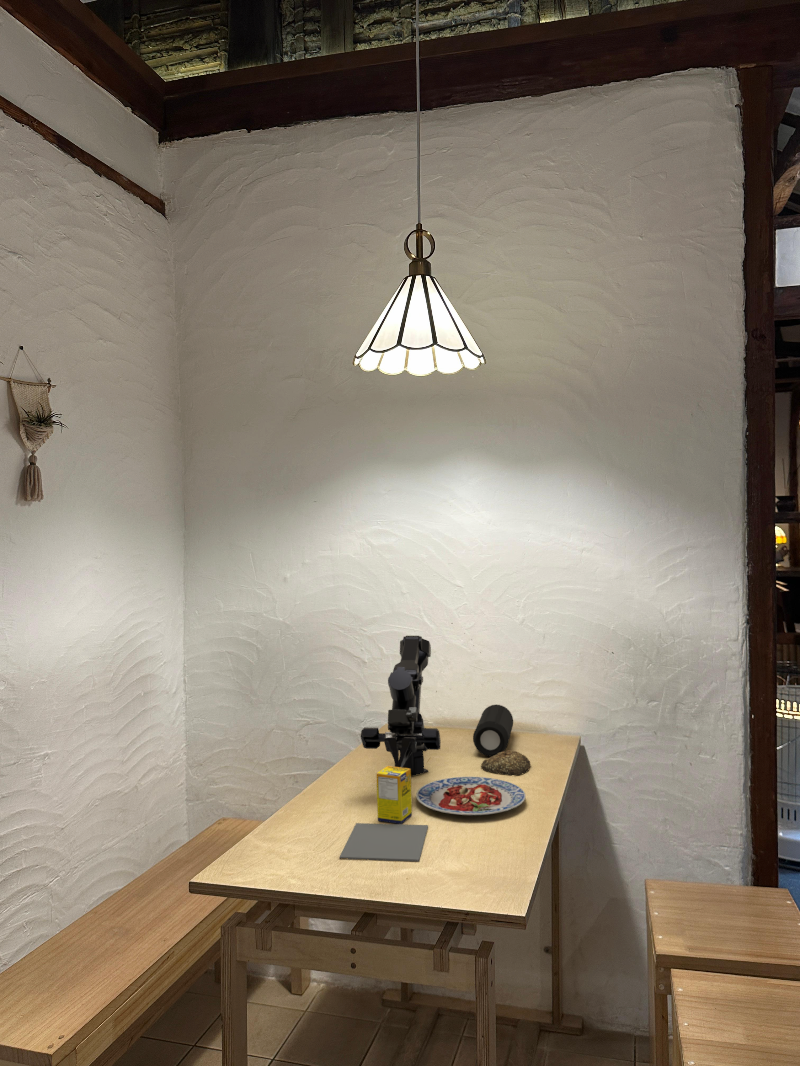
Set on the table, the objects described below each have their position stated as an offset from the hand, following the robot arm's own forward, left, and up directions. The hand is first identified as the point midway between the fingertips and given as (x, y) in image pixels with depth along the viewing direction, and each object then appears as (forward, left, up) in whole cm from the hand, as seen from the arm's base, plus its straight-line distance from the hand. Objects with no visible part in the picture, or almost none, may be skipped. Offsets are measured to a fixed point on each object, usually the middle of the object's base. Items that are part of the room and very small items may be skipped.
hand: (398, 771), depth 192 cm
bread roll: (-6, +40, -9) cm, 42 cm away
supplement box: (+5, -5, -9) cm, 11 cm away
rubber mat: (+14, -14, -9) cm, 22 cm away
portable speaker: (-23, +52, -9) cm, 57 cm away
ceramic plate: (+8, +15, -9) cm, 20 cm away
